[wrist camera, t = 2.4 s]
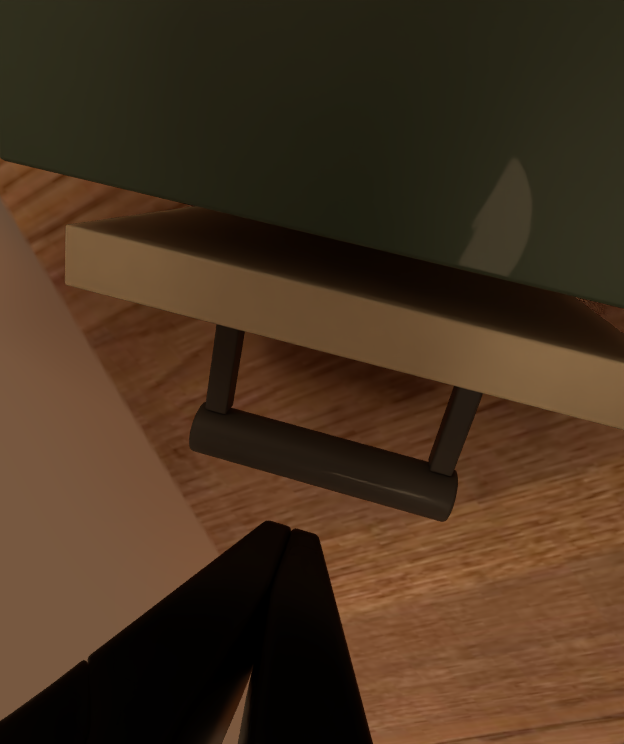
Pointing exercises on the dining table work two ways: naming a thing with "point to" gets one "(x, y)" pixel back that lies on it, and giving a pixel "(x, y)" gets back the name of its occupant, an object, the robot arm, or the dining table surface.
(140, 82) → the cabinet
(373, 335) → the drawer
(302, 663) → the robot arm
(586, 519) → the dining table surface
